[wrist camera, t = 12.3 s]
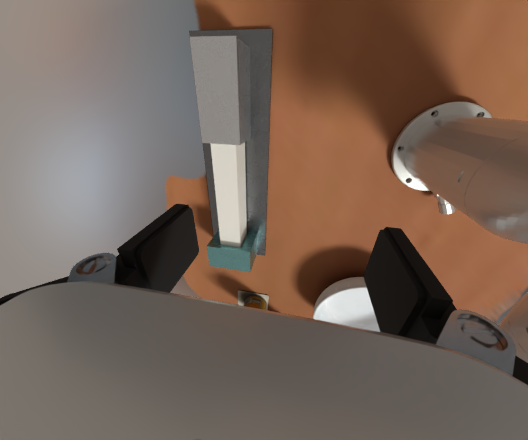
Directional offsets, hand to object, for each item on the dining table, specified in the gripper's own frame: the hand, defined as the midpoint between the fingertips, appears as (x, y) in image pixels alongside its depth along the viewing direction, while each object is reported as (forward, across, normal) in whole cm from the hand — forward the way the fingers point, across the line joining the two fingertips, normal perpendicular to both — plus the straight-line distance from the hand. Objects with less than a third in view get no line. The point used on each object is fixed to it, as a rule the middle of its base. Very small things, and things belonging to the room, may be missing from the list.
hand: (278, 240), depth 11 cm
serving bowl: (+29, -17, +34) cm, 48 cm away
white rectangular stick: (+27, +11, +9) cm, 31 cm away
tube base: (+28, +11, +5) cm, 31 cm away
